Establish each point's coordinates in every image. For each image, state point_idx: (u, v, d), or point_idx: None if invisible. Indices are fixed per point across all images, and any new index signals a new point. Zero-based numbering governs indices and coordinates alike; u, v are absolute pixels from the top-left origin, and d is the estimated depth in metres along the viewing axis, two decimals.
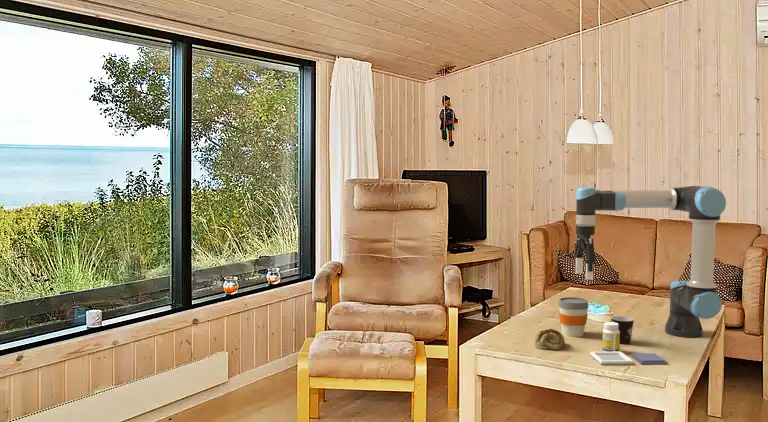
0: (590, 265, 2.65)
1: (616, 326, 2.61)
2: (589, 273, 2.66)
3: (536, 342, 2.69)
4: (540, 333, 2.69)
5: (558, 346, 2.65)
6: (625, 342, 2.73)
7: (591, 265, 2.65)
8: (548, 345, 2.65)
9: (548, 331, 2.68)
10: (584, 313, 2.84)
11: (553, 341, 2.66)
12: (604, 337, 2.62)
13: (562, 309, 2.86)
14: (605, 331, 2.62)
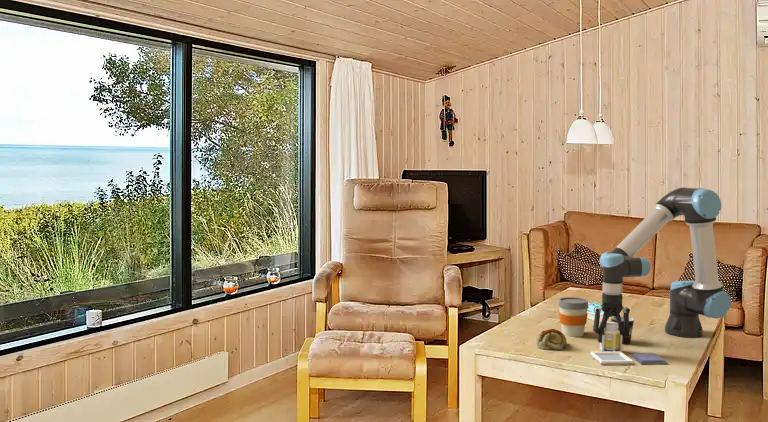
0: (598, 335, 2.63)
1: (616, 326, 2.61)
2: (601, 344, 2.64)
3: (538, 342, 2.69)
4: (542, 333, 2.69)
5: (560, 346, 2.65)
6: (625, 342, 2.73)
7: (598, 335, 2.63)
8: (550, 345, 2.65)
9: (550, 331, 2.68)
10: (584, 313, 2.84)
11: (555, 341, 2.66)
12: (604, 337, 2.62)
13: (562, 309, 2.86)
14: (605, 331, 2.62)
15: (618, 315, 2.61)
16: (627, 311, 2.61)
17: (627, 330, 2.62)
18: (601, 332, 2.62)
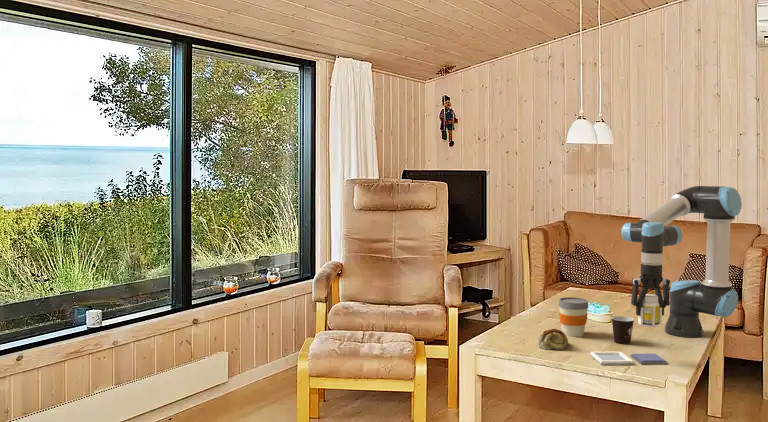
0: (636, 308, 2.51)
1: (656, 298, 2.48)
2: (639, 317, 2.51)
3: (540, 342, 2.68)
4: (544, 333, 2.69)
5: (562, 346, 2.65)
6: (625, 342, 2.73)
7: (637, 308, 2.50)
8: (552, 345, 2.65)
9: (552, 331, 2.68)
10: (584, 313, 2.84)
11: (557, 341, 2.66)
12: (643, 310, 2.49)
13: (562, 309, 2.86)
14: (644, 304, 2.49)
15: (658, 287, 2.48)
16: (667, 283, 2.49)
17: (667, 303, 2.49)
18: (640, 305, 2.49)
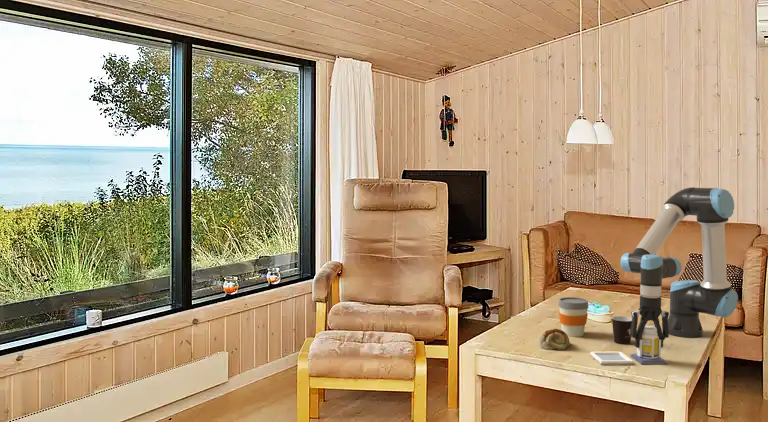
0: (635, 340, 2.52)
1: (655, 330, 2.49)
2: (638, 349, 2.52)
3: (541, 342, 2.68)
4: (545, 333, 2.69)
5: (564, 346, 2.65)
6: (625, 342, 2.73)
7: (636, 340, 2.51)
8: (554, 345, 2.65)
9: (553, 331, 2.68)
10: (584, 313, 2.84)
11: (559, 341, 2.66)
12: (642, 342, 2.50)
13: (562, 309, 2.86)
14: (643, 336, 2.50)
15: (657, 319, 2.49)
16: (666, 315, 2.50)
17: (666, 335, 2.50)
18: (639, 337, 2.50)
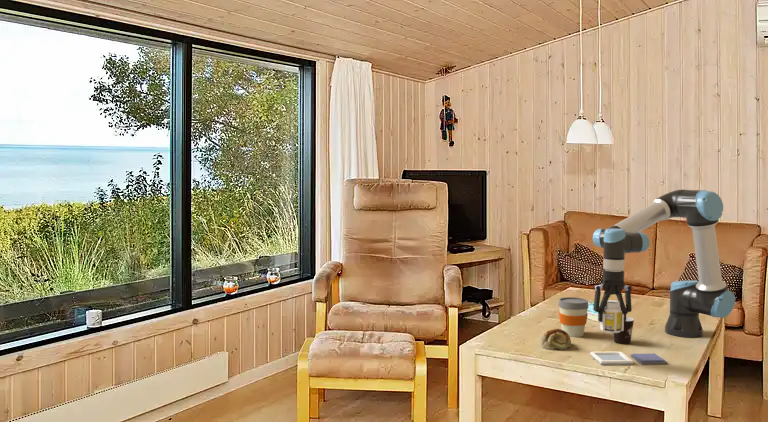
0: (598, 314, 2.51)
1: (617, 304, 2.49)
2: (601, 323, 2.52)
3: (543, 342, 2.68)
4: (547, 333, 2.69)
5: (565, 346, 2.65)
6: (625, 342, 2.73)
7: (599, 315, 2.51)
8: (555, 345, 2.65)
9: (555, 331, 2.68)
10: (584, 313, 2.84)
11: (560, 341, 2.66)
12: (605, 316, 2.50)
13: (562, 309, 2.86)
14: (606, 310, 2.50)
15: (619, 293, 2.49)
16: (629, 289, 2.49)
17: (629, 309, 2.50)
18: (602, 311, 2.50)
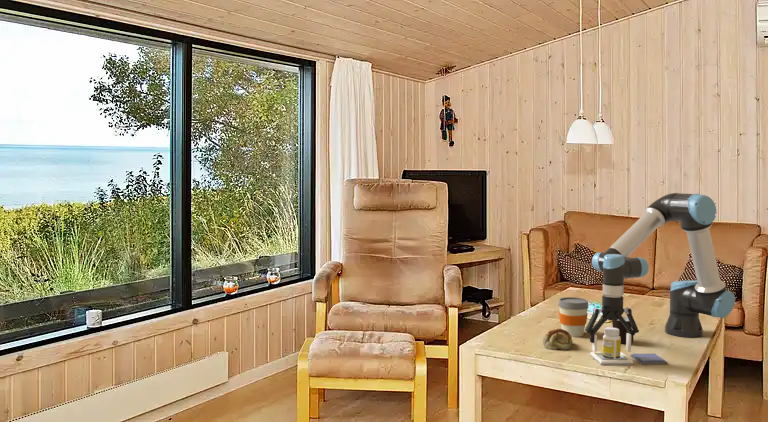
0: (590, 335, 2.52)
1: (617, 332, 2.49)
2: (593, 344, 2.52)
3: (545, 342, 2.68)
4: (549, 333, 2.69)
5: (567, 346, 2.66)
6: (625, 342, 2.73)
7: (590, 336, 2.51)
8: (557, 345, 2.66)
9: (557, 331, 2.68)
10: (584, 313, 2.84)
11: (562, 341, 2.66)
12: (604, 343, 2.51)
13: (562, 309, 2.86)
14: (605, 337, 2.51)
15: (621, 317, 2.50)
16: (629, 312, 2.50)
17: (636, 330, 2.51)
18: (594, 332, 2.50)
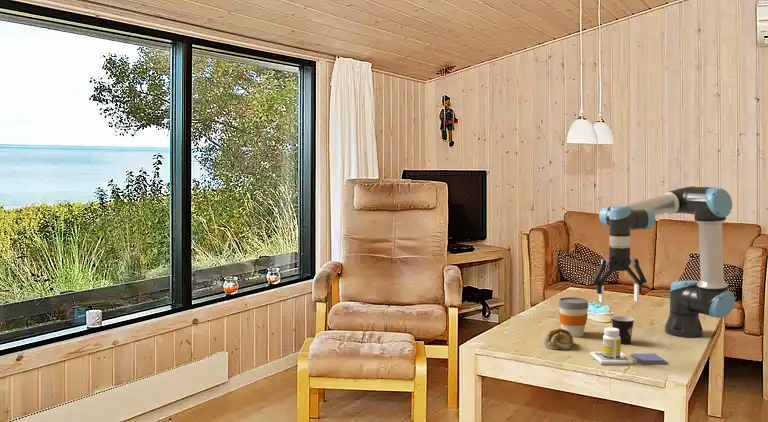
0: (597, 286, 2.54)
1: (617, 332, 2.49)
2: (600, 295, 2.54)
3: (546, 342, 2.68)
4: (550, 333, 2.69)
5: (569, 346, 2.66)
6: (625, 342, 2.73)
7: (597, 287, 2.53)
8: (559, 345, 2.66)
9: (558, 331, 2.68)
10: (584, 313, 2.84)
11: (564, 341, 2.66)
12: (604, 343, 2.51)
13: (562, 309, 2.86)
14: (605, 337, 2.51)
15: (628, 268, 2.51)
16: (636, 262, 2.52)
17: (644, 280, 2.53)
18: (601, 283, 2.52)
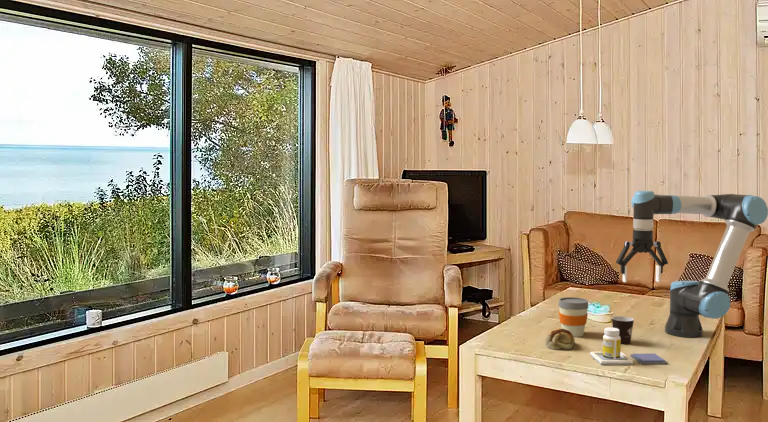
0: (621, 267, 2.67)
1: (617, 332, 2.49)
2: (623, 275, 2.68)
3: (548, 342, 2.68)
4: (551, 333, 2.69)
5: (570, 346, 2.66)
6: (625, 342, 2.73)
7: (621, 267, 2.67)
8: (560, 345, 2.66)
9: (559, 331, 2.68)
10: (584, 313, 2.84)
11: (565, 341, 2.66)
12: (604, 343, 2.51)
13: (562, 309, 2.86)
14: (605, 337, 2.51)
15: (650, 250, 2.65)
16: (658, 244, 2.66)
17: (665, 262, 2.66)
18: (624, 263, 2.66)
